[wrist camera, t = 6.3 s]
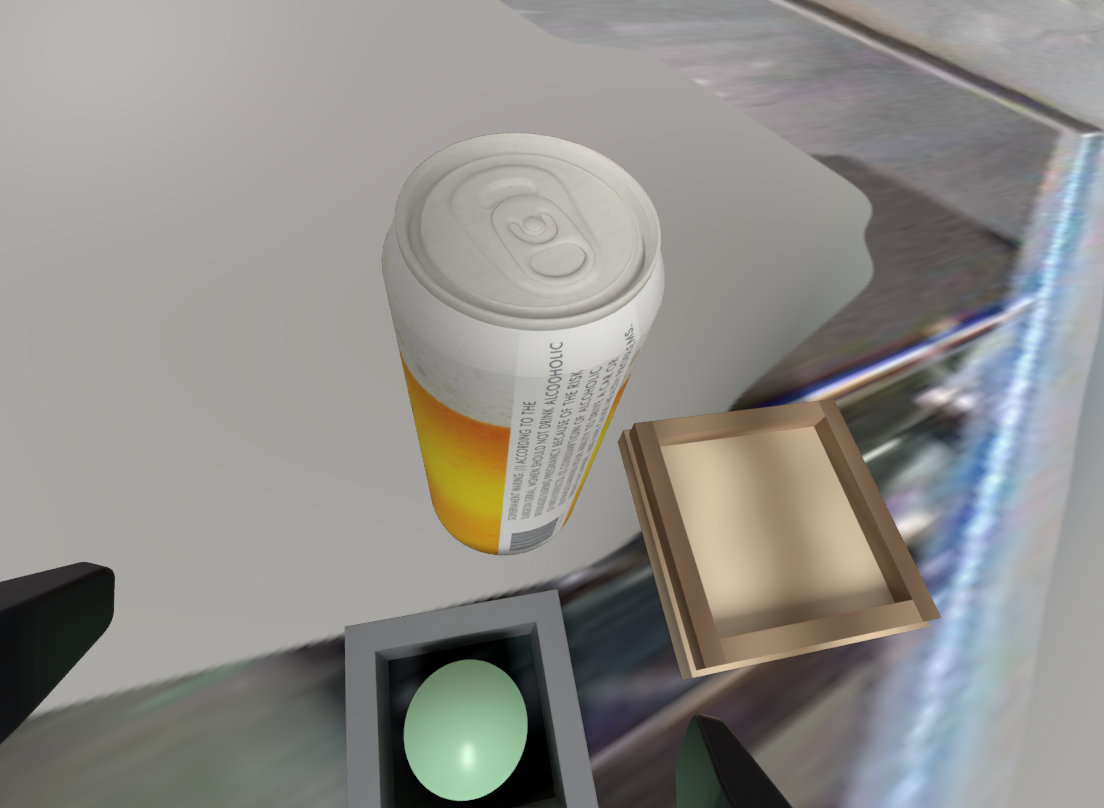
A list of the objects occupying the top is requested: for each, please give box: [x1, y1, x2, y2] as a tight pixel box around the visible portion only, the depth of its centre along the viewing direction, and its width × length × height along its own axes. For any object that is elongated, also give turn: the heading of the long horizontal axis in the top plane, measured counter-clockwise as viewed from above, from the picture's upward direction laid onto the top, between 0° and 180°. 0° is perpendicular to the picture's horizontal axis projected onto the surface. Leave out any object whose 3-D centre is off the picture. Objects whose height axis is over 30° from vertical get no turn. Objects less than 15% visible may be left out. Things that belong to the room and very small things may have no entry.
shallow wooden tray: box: [618, 399, 941, 680], centre depth 23 cm, size 10×10×2 cm
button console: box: [345, 589, 598, 808], centre depth 18 cm, size 7×7×3 cm
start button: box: [404, 660, 527, 801], centre depth 18 cm, size 4×4×2 cm
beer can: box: [382, 133, 665, 555], centre depth 18 cm, size 6×6×15 cm
